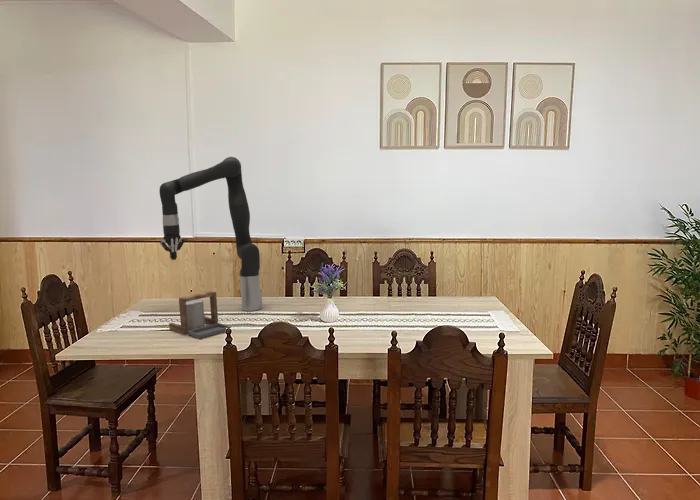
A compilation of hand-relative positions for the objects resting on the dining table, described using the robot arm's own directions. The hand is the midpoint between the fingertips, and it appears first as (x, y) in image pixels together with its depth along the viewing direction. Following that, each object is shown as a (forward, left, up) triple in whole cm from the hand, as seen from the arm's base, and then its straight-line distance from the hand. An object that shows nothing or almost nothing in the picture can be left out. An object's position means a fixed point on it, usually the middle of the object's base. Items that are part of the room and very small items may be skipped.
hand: (173, 259), depth 303 cm
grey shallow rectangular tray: (+9, +41, -27) cm, 50 cm away
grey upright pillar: (+9, +29, -27) cm, 41 cm away
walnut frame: (+9, +28, -27) cm, 40 cm away
